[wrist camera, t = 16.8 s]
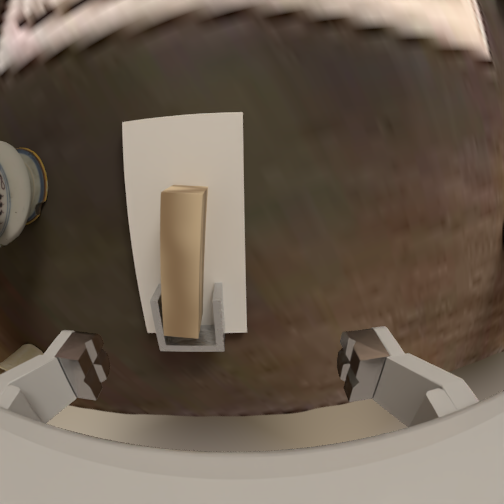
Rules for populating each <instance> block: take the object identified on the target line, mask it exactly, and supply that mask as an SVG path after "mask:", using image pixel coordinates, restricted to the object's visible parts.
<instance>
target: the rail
mask: <svg viewBox="0 0 504 504" xmlns="http://www.w3.org/2000/svg"><path fill="white" fill-rule="evenodd" d="M207 196H208V187H205V186H187V185H172V186H170V187H169V188H167V189H165V190H164V191H162V192H161V201H160V269H161V297H162V315H163V330H164V336H174V337H184V338H196V339H199V332H200V326H201V320H202V315H203V282H204V253H205V231H206V212H207Z"/></svg>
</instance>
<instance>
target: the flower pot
mask: <svg viewBox="0 0 504 504" xmlns="http://www.w3.org/2000/svg"><path fill="white" fill-rule="evenodd" d="M43 354H44V353H43V352H42V351H41V350H40V349H38V348H37V347H35V346H34V345H31V344H25V345H23V346H22V347H20V348H19V349H18V350H17V351H16V352H14V353H13V354H12V355H11V356H9V357H8V358H7V359H6V360H5V361H3V362H1V363H0V374H2V373H4V372H6V371H8V370H10V369H12V368H14V367H16V366H18V365H20V364H22V363H24V362H26V361H28V360H30V359H32V358H34V357H36V356H38V355H43Z"/></svg>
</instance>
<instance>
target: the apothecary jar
mask: <svg viewBox="0 0 504 504" xmlns="http://www.w3.org/2000/svg"><path fill="white" fill-rule="evenodd" d="M47 191H48V181H47V175H46V171H45V168H44V165H43V163H42V161H41V159H40V158H39V157H38V155H37V154H36V153H35V152H33V151H32V150H30V149H27V148H17V149H15V148H14V147H12V146H11V145H10V144H8V143H6V142H3V141H0V247H3V246H6V245H8V244H10V243H11V242H13V241H14V240H15V239H16V238H17V237H18V236H19V235H20V233H21V232H22V230H23V229H24V227H25V225H27V224H30V223H32V222H33V221H35V220H36V219H37V218H38V217H39V215H40V212H41V205H42V203H43V202H45V201H46V198H47Z"/></svg>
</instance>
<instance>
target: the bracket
mask: <svg viewBox="0 0 504 504" xmlns="http://www.w3.org/2000/svg"><path fill="white" fill-rule="evenodd" d="M122 133H123V159H124V176H125V189H126V200H127V210H128V220H129V228H130V236H131V244H132V251H133V257H134V264H135V270H136V276H137V282H138V288H139V293H140V298H141V304H142V309H143V314H144V318H145V323H146V328H147V332H148V333H156V334H157V339H158V344H159V348H160V351H183V352H216V351H225V333H243V332H247V317H246V274H245V226H244V169H243V112H229V113H206V114H191V115H178V116H168V117H158V118H150V119H142V120H134V121H128V122H122ZM172 185H187V186H205V187H208V196H207V212H206V231H205V253H204V282H203V315H202V320H201V326H200V332H199V339H196V338H184V337H174V336H164V330H163V315H162V297H161V269H160V201H161V192H162V191H164V190H165V189H167V188H169V187H170V186H172Z"/></svg>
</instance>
